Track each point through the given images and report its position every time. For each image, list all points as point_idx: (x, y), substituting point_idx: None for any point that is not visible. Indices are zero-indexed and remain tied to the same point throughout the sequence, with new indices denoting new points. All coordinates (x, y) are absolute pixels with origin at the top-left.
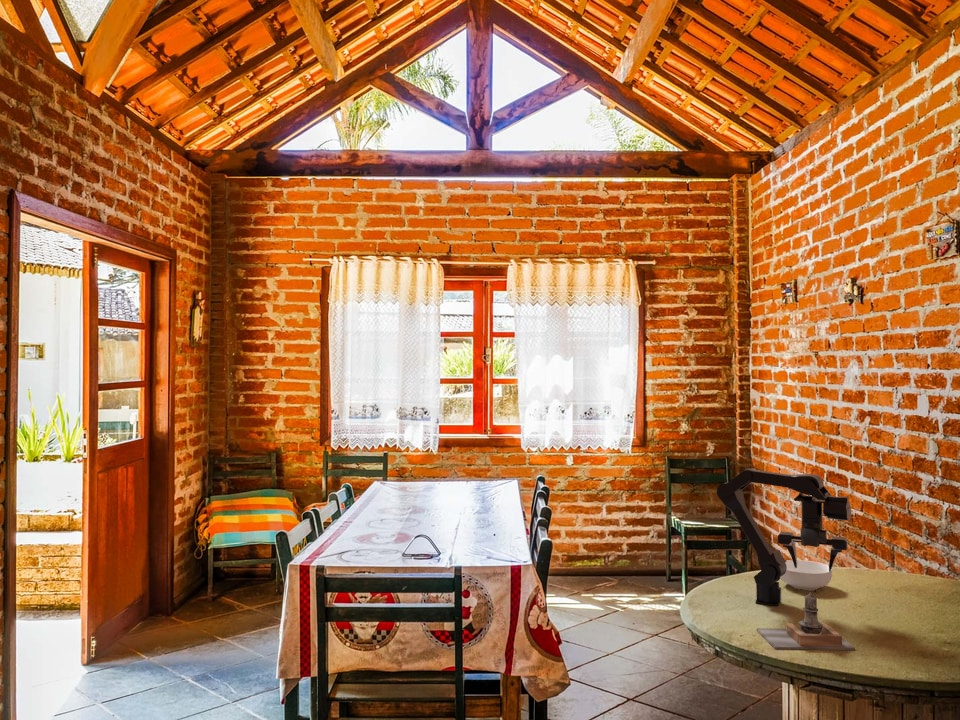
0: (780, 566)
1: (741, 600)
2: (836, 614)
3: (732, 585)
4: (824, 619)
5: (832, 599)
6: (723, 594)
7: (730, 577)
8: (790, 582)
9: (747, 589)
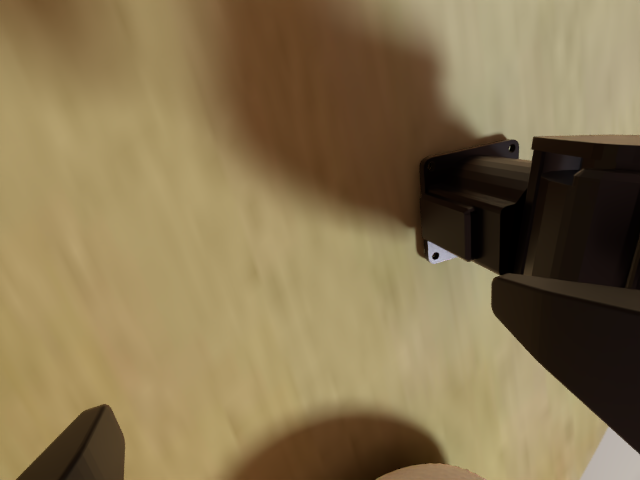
0: (628, 228)
1: None
2: (118, 232)
3: None
4: (131, 69)
5: (239, 459)
6: None
7: None
8: (439, 464)
9: None
